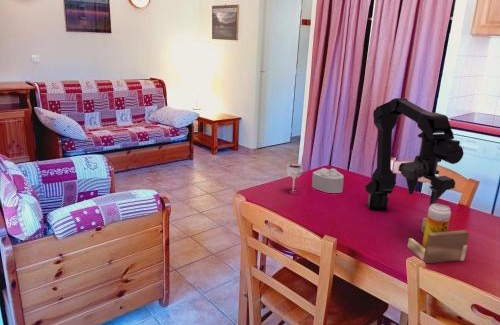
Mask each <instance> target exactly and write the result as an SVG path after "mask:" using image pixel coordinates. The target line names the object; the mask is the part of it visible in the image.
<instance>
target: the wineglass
mask: <svg viewBox="0 0 500 325" xmlns="http://www.w3.org/2000/svg"><path fill="white" fill-rule="evenodd" d="M286 167H287V168H286V174H287V175H288V176H289V177H290V178H292V191H294V190H295V182H296V179H297V178H299V177H300V176H301V175H302V174H303V172H304V170H303V167H304V165H303V164H302V163H297V162H292V163H288V164H286Z"/></svg>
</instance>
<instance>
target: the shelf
mask: <svg viewBox="0 0 500 325" xmlns="http://www.w3.org/2000/svg"><path fill="white" fill-rule="evenodd" d="M426 221H427V217H423V219H422V223H421V224H422V225H421V230H420V232H422V234H424V232H425V227H426ZM469 235H470V232H468V231H467V230H465V229H464V230H463V229H462V230H454V231H452V230H451V231H447V232H438V233H428V237H427V243H426V248H424V247H423V246H422V244H420V243H419V242H418V241H416V240H415V239H414V238H412V237H411V238H408V242H407V248H408V249H409V250H410V251H412V252H413V254H415V255H416V256H417V257H418V258H420V259H421V260H422V261H423V262H424V261H425V262H424V263H426V264H435V263H444V262H453V261H460V262H461V261H462V262H463V261H465V258H466V253H467V249H468V245H467V244H468V240H469Z"/></svg>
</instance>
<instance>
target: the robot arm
mask: <svg viewBox="0 0 500 325" xmlns="http://www.w3.org/2000/svg"><path fill="white" fill-rule="evenodd" d="M402 115H403V116H405V117H406V118H409V119H410V120H412V121H414V122H415V123H416V125H417V128H418V129H419V130H420V131H421V132H420V133H418V134H417V137H418V138H420V139H421V143H420V149H419V154H418V155H416V156H415V157H414V160H413V161H410V162H409V161H407V162H401V163H400V164H399V166H398V172H400V175H402V176H403V177H404V178H405V179H406V180H405V181H406V183H407V189H408V194H409V195H413V194H414V192H415V190H416V187H417V185H418V181H419V179H421V178H424V179H426V180H429V181H430V186H429V189H430V191H431V193H430V199H429V205H430V206H431V204H436V202H437V201H438V200H439V199H440V197H441V196H443V195H444V193H445V192H446V191H448V190H452V189H455V186H456V181H455V179H453V178H451V177H450V176H446V175H439V174H440V170H438V169H437V168H438V165H439V163H441V162H442V161H443V162H446V163H448V164H451V165H455V164H458V163H459V162H460V161H461V160H462V159H463V156H464V149H463V147H462V146H461V145H460V143H461V141H460V140H456V139H455V136H454V132H453V130H452V127H451V124H450V121H449V117H448V116H447V115H446V114H443V113H439V112H433V111H427V110H425V109H424V108H422V107H420V106H418V105H416V104H415V103H414V102H411V101H409V100H408V99H407V98H405V97H395V98H393V99H391V100H390V101H388V102H385V103H383V104H381V105H379V106H376V108H375V109H374V110H373V113H372V116H373V125H374V126H375V128H376V129H377V150H376V168H375V170H374V171H373V173H372V175H371V181H369V182H368V183H367V184H366V185H365V192H366V193H368V201H367V202H366V205H367V208H368V210H372V211H384V212H386V211H387V208H388V204H389V197H388V194H389V195H390V194H391V195H392V193H393V191H394V189H395V187H396V185H397V181H396V180H397V174H396V173H394V172H393V171H392V170H393V169H391V167H392V165H391V164H392V147H393V146H392V143H393V141H392V140H393V130H394V128H395V127H396V125H397V124H398V120H399V119H398V118H399V117H401V116H402ZM437 175H439V176H437Z"/></svg>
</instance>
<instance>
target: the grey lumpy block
mask: <svg viewBox="0 0 500 325" xmlns="http://www.w3.org/2000/svg"><path fill="white" fill-rule="evenodd" d="M344 179H345V178H344V174H342V173H340V171H338V170H337V169H336V168H330V169H328V168H325V167H322V168H321V169H320V168H319V169H318V170H315V171H313V172H312V180H311V188H312V187H313V188H315V189H317V190H320V191H323V192H327V193H341V192H342V193H343V188H344ZM342 193H341V194H342Z"/></svg>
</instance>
